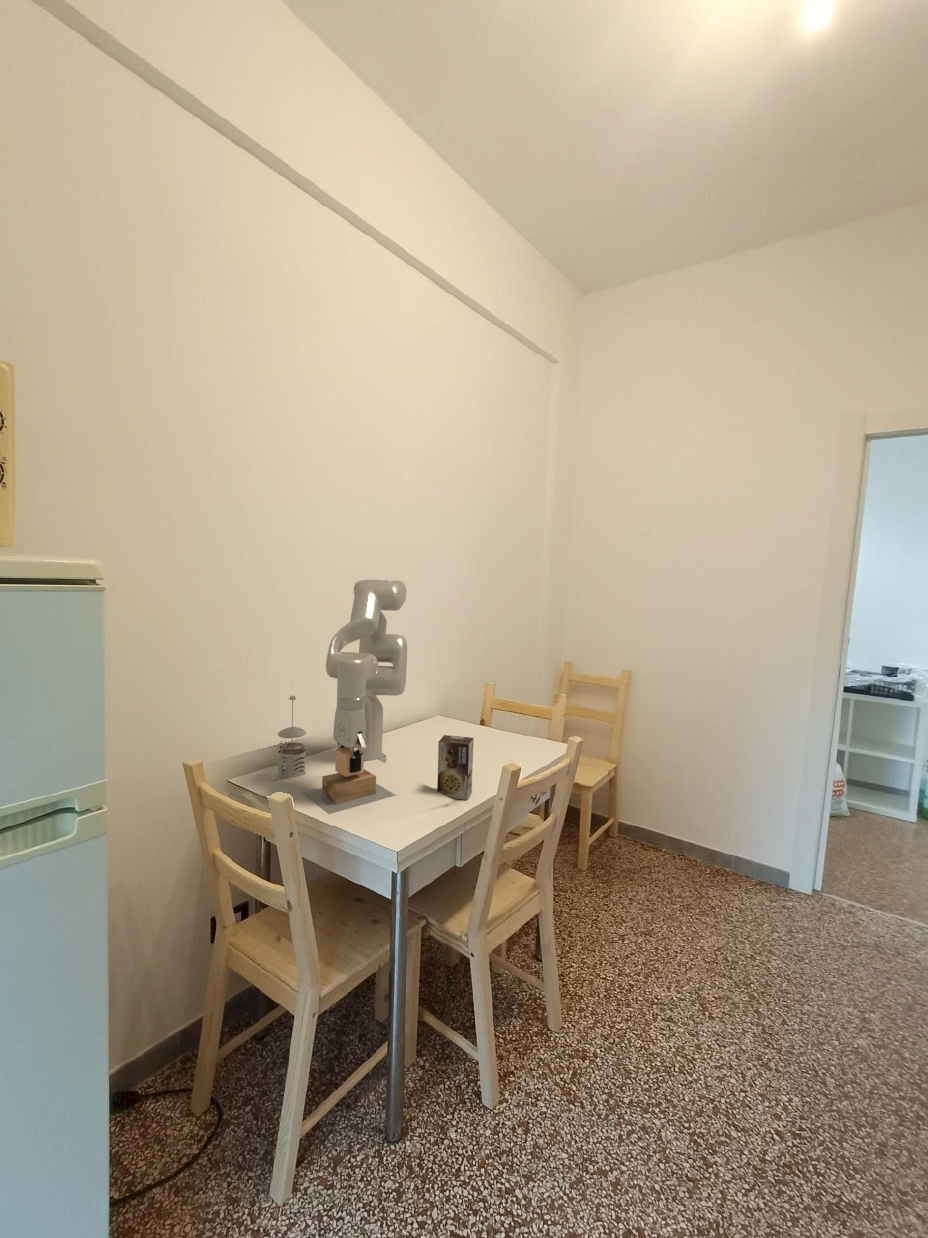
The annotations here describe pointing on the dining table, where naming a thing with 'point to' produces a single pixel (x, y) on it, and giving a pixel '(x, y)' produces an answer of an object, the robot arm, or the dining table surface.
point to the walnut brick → (348, 786)
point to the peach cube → (346, 761)
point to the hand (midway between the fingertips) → (349, 767)
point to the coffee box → (455, 766)
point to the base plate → (332, 807)
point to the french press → (291, 752)
